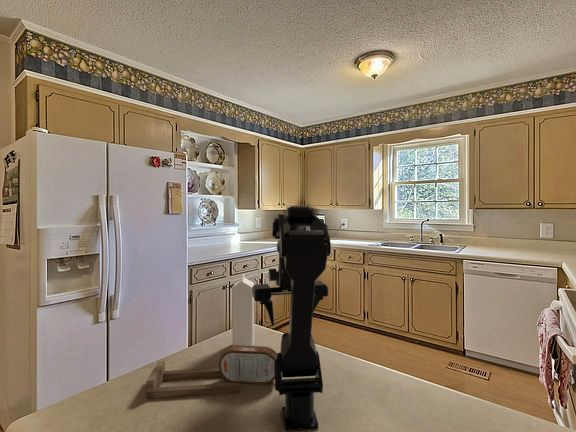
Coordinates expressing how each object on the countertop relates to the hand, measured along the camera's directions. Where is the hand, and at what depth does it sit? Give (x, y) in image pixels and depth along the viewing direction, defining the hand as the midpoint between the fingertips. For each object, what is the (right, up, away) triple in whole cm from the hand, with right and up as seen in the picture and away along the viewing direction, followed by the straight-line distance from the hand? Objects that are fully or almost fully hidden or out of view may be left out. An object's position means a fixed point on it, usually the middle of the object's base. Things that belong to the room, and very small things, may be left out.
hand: (290, 323), depth 80 cm
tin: (-10, -13, -4) cm, 17 cm away
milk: (-14, -13, +16) cm, 25 cm away
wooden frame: (-22, -13, -5) cm, 26 cm away
